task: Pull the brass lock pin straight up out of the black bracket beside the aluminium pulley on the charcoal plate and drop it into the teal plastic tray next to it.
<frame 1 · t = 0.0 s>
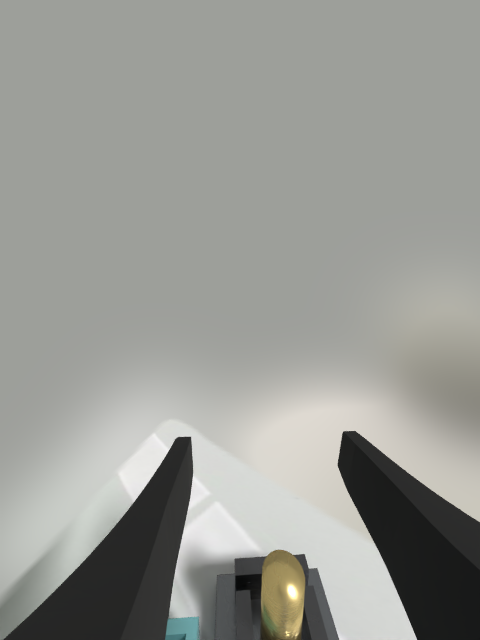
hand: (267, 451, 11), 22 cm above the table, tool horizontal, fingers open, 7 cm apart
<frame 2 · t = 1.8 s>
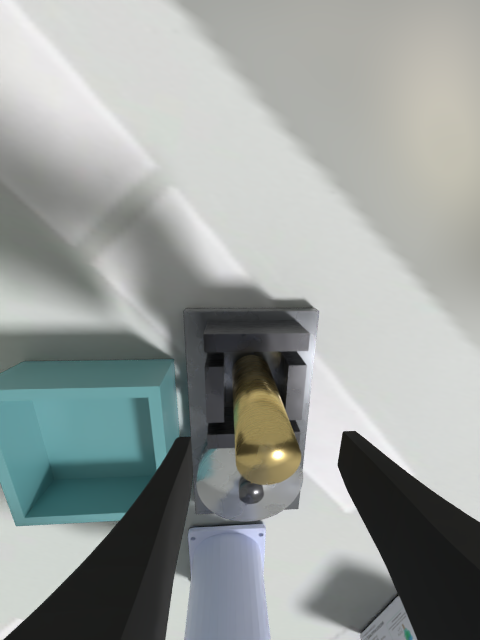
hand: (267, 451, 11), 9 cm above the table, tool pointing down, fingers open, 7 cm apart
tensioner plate: (248, 417, 20), on the table
ink cartridge box: (393, 614, 30), on the table
tray: (110, 421, 20), on the table
lock pin: (250, 372, 18), point 1 cm above the table, touching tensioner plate
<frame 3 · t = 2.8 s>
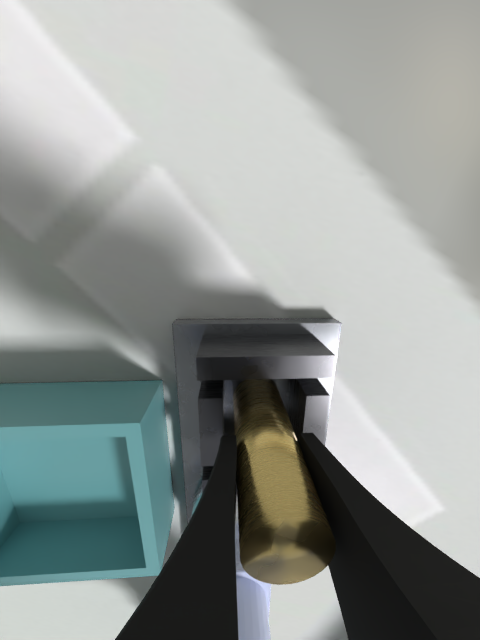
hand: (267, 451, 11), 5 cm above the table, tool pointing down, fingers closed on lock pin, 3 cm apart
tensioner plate: (252, 447, 17), on the table
tray: (87, 453, 16), on the table
lock pin: (256, 397, 15), point 1 cm above the table, touching gripper, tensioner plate
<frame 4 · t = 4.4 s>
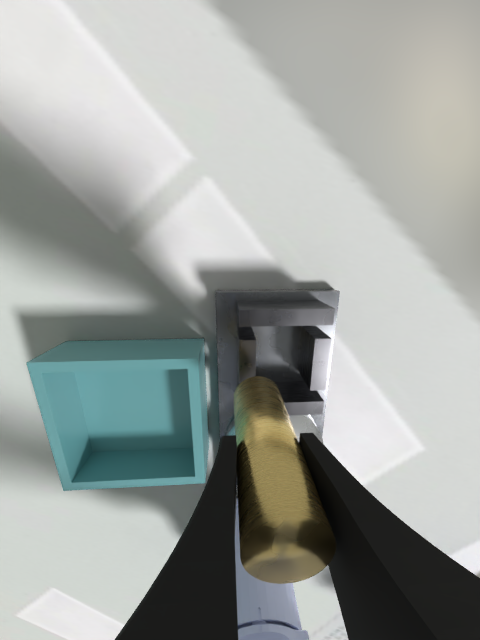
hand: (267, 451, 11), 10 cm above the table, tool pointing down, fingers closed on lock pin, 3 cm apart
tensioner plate: (271, 393, 22), on the table
tray: (144, 397, 21), on the table
lock pin: (256, 397, 15), point 6 cm above the table, touching gripper
when the fingers open (7 cm above the table, at t = 5.9 s): lock pin drops 2 cm, resting on tray.
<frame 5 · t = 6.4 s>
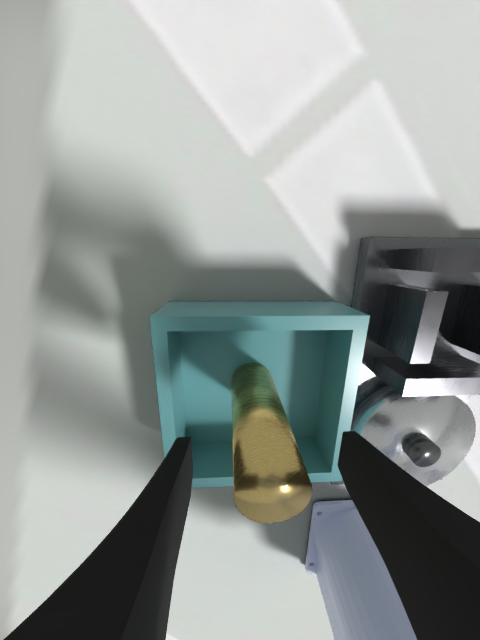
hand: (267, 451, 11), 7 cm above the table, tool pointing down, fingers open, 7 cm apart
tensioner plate: (403, 373, 18), on the table
tray: (251, 376, 17), on the table
lock pin: (251, 381, 16), point 1 cm above the table, touching tray
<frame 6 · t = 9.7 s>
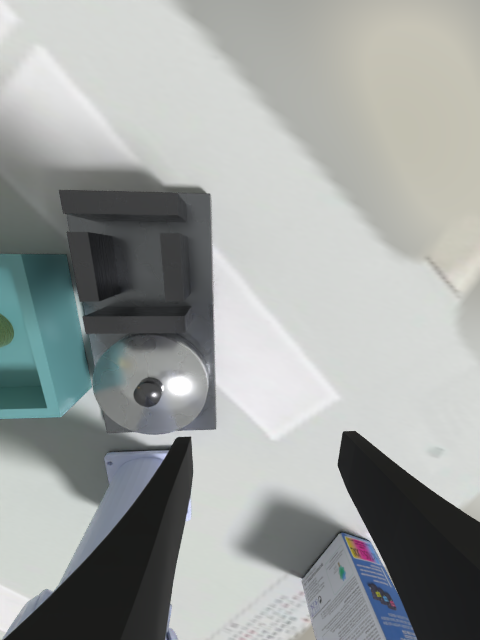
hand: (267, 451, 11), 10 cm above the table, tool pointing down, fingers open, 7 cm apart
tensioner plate: (155, 325, 19), on the table
ink cartridge box: (335, 558, 30), on the table
tray: (7, 326, 19), on the table
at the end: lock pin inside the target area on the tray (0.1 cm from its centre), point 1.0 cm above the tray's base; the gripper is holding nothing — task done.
